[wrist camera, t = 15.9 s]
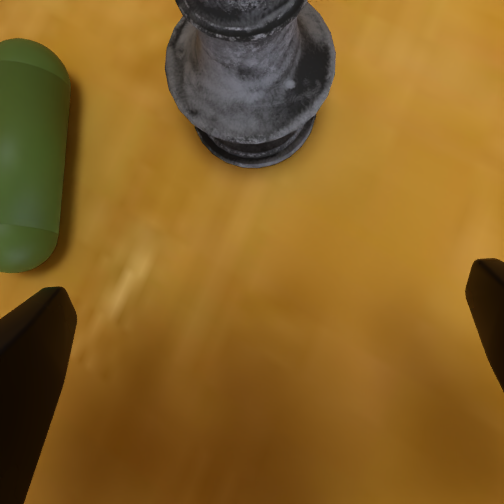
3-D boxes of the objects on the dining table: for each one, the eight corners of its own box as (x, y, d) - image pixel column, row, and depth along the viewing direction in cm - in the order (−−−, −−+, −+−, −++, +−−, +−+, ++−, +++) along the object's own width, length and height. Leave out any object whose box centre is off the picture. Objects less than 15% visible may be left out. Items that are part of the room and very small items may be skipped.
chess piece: (167, 70, 19) (-16, -348, 7) (295, 25, 19) (337, -474, 7) (210, 194, 18) (88, -30, 6) (343, 147, 18) (488, -171, 6)
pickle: (69, 276, 18) (25, 270, 14) (-6, 275, 18) (-66, 268, 15) (86, 67, 19) (49, 19, 16) (16, 67, 19) (-36, 19, 16)
